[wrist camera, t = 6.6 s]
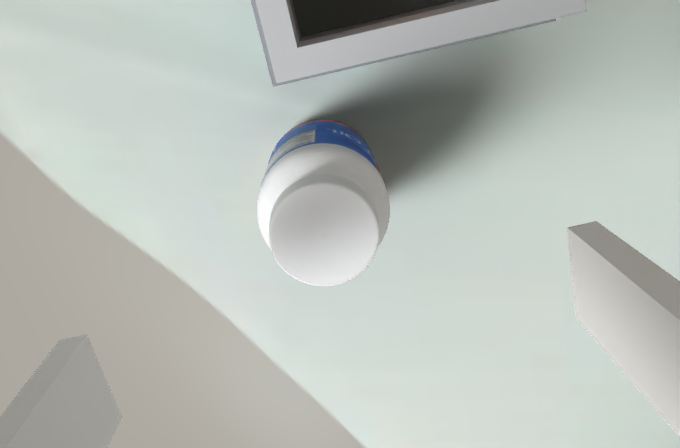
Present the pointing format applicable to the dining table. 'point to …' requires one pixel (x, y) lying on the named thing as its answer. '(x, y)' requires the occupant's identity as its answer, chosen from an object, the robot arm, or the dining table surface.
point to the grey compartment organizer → (390, 33)
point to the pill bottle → (323, 203)
